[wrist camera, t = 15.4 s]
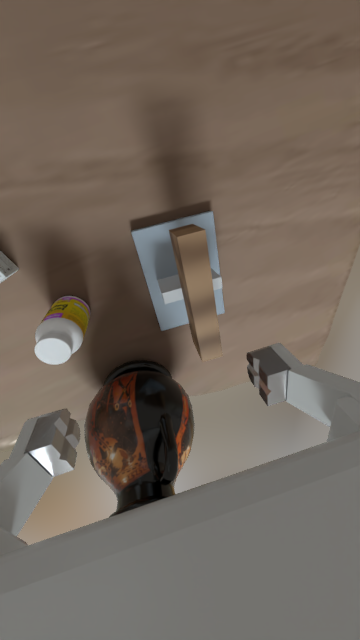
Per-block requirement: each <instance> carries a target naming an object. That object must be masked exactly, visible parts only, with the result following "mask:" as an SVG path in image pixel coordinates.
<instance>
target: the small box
mask: <svg viewBox="0 0 360 640" xmlns="http://www.w3.org/2000/svg"><path fill="white" fill-rule="evenodd" d="M18 270H19V268H18V267H17V266H16V265H15V264H14V263H13V262H12V261H11V260H10V259H8V258H7V257H6V256H5V255H4V254H3V253H2V252H1V251H0V283H1V282H3V281H4V280H5V279H7V278H8V277H10V276H11V275H12V274H14V273H15V272H16V271H18Z"/></svg>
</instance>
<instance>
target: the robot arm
mask: <svg viewBox="0 0 360 640" xmlns="http://www.w3.org/2000/svg"><path fill="white" fill-rule="evenodd" d="M247 360H248V362H249V365H248V366H247V369H248V374H249V378H250V380H251V382H252V383H253V385H254V387H257V388H259V391H260V395H261V397H262V398H263V400H264V401H265V403H266V404H267V406H269V405H273V404H277V403H280V402H283V401H287V402H288V403H290V404H291V405H293V406H295V407H296V408H298V409H300V410H302V411H303V412H305V413H307V414H309V415H310V416H312V417H313V418H315V419H317V420H319V421H320V422H322V423H324V424H325V425H327V426H329V427H330V431H329V435H328V439H327V442H325V443H322V444H320V445H317V446H314V447H311V448H308V449H305V450H302V451H300V452H297V453H294V454H291V455H288V456H285V457H282V458H279V459H277V460H273V461H271V462H268V463H265V464H262V465H259V466H256V467H254V468H251V469H247V470H245V471H242V472H239V473H236V474H233V475H230V476H227V477H225V478H221V479H219V480H216V481H213V482H210V483H207V484H204V485H201V486H199V487H196V488H193V489H190V490H187V491H184V492H182V493H178V494H175V495H172V496H170V497H167V498H164V499H161V500H158V501H155V502H152V503H149V504H147V505H144V506H141V507H138V508H135V509H132V510H129V511H126V512H124V513H121V514H118V515H115V516H112V517H109V518H106V519H103V520H101V521H98V522H95V523H92V524H89V525H86V526H83V527H80V528H78V529H75V530H72V531H69V532H66V533H63V534H60V535H57V536H55V537H52V538H49V539H46V540H43V541H40V542H37V543H34V544H31V545H29V546H28V545H27V543H26V542H24V541H23V540H21V539H20V538H18V537H17V535H18V534H19V532H20V530H21V529H22V527H23V526H24V524H25V523H26V521H27V519H28V518H29V516H30V514H31V513H32V511H33V509H34V508H35V506H36V505H37V503H38V502H39V500H40V498H41V497H42V495H43V494H44V492H45V490H46V488H47V487H48V486H49V484H50V482H51V481H52V479H53V477H54V476H57V475H60V474H63V473H66V472H68V471H71V470H73V469H74V467H75V462H76V457H77V452H76V450H75V447H76V446H77V445H78V443H79V441H80V428H79V425H78V423H77V422H76V420H74V419H71V418H70V415H71V413H70V412H69V411H68V410H67V409H62V410H58V411H55V412H51V413H48V414H44V415H41V416H38V417H34V418H31V419H28V420H27V421H26V422H25V423H24V426H23V428H22V430H21V432H20V435H19V437H18V439H17V441H16V444H15V446H14V448H13V450H12V453H11V455H10V457H9V459H7V460H4V461H3V462H2V464H1V465H0V640H360V382H357V381H354V380H351V379H349V378H345V377H343V376H340V375H337V374H334V373H331V372H328V371H325V370H322V369H319V368H316V367H313V366H310V365H307V364H306V365H303V364H302V363H301V362H300V361H299V360H298V359H297V358H296V357H295V356H294V355H292V354H291V353H290V352H289V351H288V350H287V349H286V348H285V347H284V346H283V345H282V344H281V343H276V344H273V345H270V346H267V347H264V348H261V349H257V350H254V351H251V352H248V353H247Z"/></svg>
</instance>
